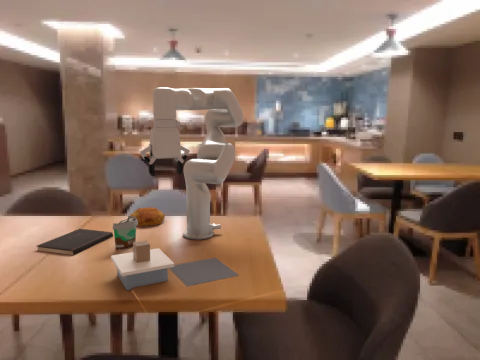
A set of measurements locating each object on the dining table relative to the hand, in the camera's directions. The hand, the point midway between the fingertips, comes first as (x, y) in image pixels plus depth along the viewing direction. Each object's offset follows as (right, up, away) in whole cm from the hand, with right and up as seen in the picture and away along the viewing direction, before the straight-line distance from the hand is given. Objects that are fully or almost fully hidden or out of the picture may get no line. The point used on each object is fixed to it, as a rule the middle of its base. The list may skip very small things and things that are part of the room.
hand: (166, 174), depth 134 cm
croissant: (-17, -22, +44) cm, 52 cm away
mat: (+14, -31, -12) cm, 36 cm away
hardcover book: (-37, -27, +14) cm, 48 cm away
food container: (-16, -27, +12) cm, 33 cm away
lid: (-4, -27, -18) cm, 33 cm away
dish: (-4, -32, -18) cm, 36 cm away
